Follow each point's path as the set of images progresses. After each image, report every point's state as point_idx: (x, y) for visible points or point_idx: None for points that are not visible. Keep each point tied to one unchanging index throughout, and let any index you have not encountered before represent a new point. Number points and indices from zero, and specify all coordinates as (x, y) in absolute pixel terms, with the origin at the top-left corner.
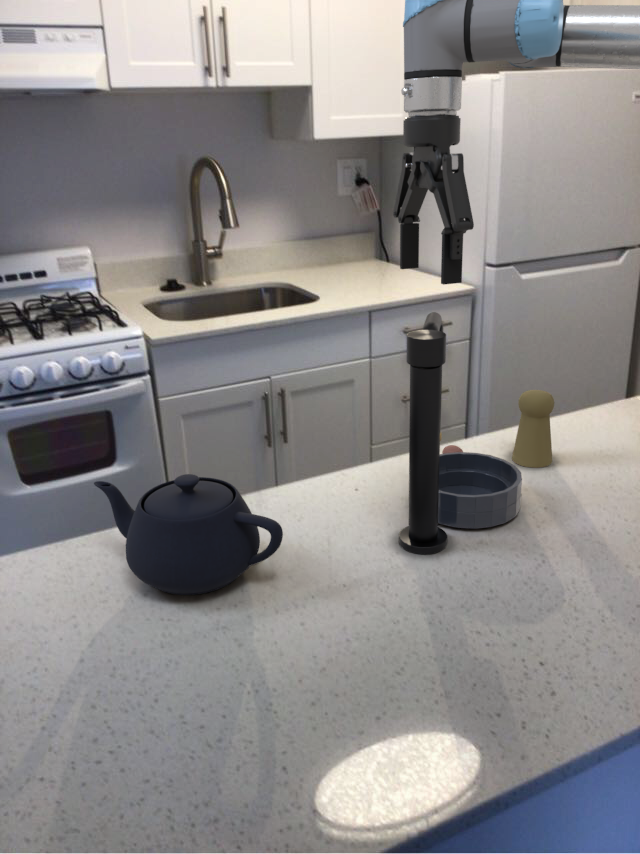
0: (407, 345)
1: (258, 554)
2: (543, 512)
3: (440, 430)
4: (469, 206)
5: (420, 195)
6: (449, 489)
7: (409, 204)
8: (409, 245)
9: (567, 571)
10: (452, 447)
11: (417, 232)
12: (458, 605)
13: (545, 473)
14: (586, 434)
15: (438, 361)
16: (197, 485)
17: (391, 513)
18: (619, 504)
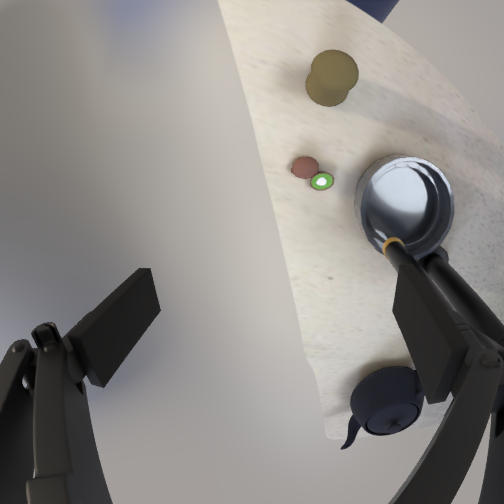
0: None
1: None
2: (431, 146)
3: (401, 243)
4: None
5: (81, 457)
6: (371, 204)
7: (92, 440)
8: (127, 327)
9: (494, 188)
10: (308, 170)
11: (99, 326)
12: (488, 270)
13: (362, 93)
14: (277, 5)
15: None
16: (383, 418)
17: (383, 266)
18: (435, 79)
